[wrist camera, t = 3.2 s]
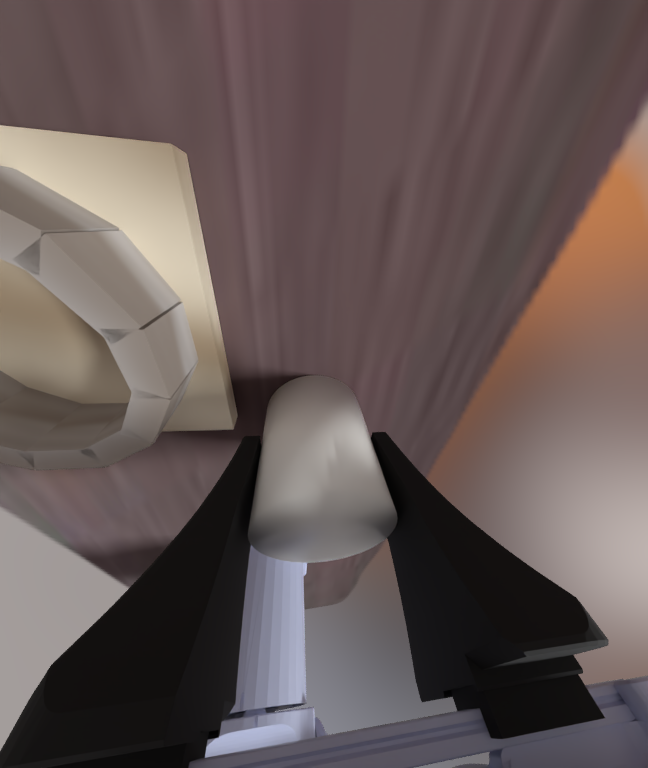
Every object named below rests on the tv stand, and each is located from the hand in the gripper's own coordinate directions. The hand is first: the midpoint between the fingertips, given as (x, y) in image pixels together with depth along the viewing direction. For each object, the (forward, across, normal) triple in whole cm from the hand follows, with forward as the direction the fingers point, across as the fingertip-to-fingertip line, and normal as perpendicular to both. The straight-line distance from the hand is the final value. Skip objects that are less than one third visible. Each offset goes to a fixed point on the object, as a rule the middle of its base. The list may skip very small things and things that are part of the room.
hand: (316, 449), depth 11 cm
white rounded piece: (+2, 0, 0) cm, 2 cm away
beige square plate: (+2, +9, -5) cm, 11 cm away
